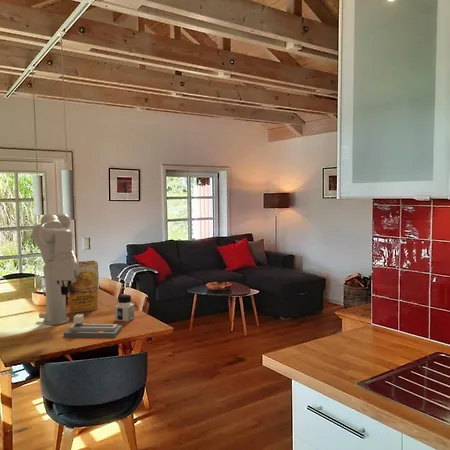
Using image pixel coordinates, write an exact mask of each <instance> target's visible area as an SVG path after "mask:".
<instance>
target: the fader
mask: <svg viewBox="0 0 450 450" xmlns="http://www.w3.org/2000/svg"><path fill="white" fill-rule="evenodd" d="M84 319H85V314H84V313H78V314H76V315H74V316H73V324H75V327H82V324H83V322H84V321H85V320H84Z"/></svg>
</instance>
